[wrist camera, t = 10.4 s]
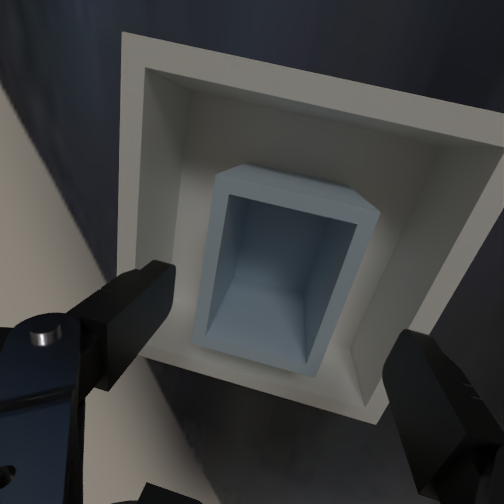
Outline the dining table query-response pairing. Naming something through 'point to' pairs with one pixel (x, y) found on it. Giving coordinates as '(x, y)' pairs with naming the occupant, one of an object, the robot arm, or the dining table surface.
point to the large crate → (311, 164)
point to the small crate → (279, 265)
